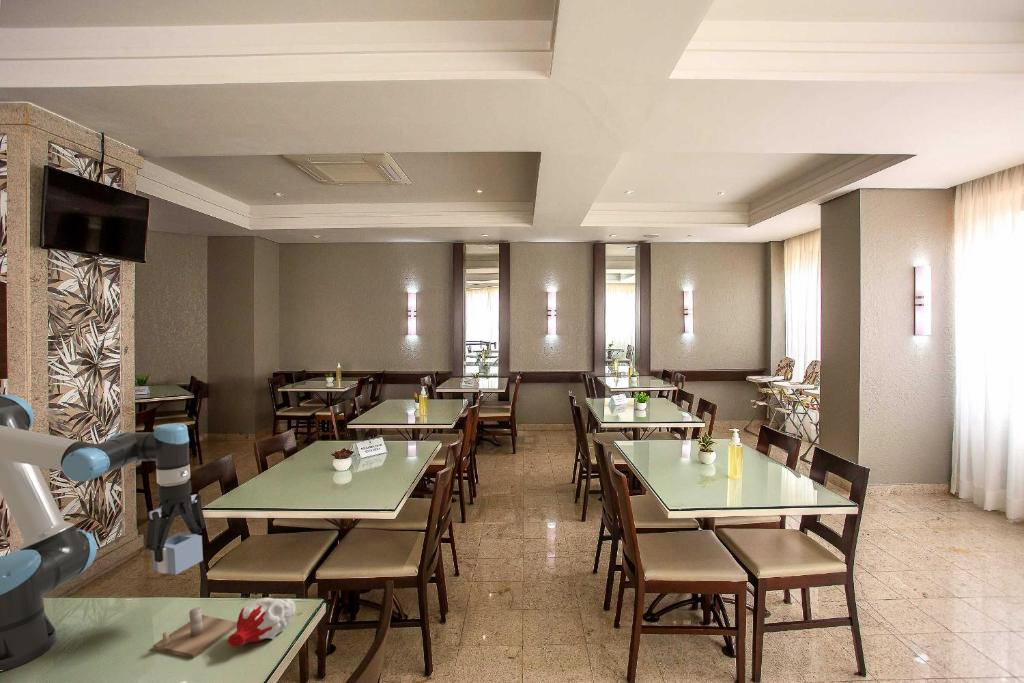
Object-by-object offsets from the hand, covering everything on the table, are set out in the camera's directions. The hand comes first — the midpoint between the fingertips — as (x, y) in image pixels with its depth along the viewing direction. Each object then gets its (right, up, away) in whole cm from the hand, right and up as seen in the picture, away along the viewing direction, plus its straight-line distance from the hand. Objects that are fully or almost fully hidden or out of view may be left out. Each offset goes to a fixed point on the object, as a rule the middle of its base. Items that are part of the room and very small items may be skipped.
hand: (178, 564), depth 137 cm
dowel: (+6, -15, -13) cm, 21 cm away
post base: (+10, -15, -9) cm, 20 cm away
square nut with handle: (-2, 0, +1) cm, 2 cm away
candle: (+27, -15, -10) cm, 32 cm away
